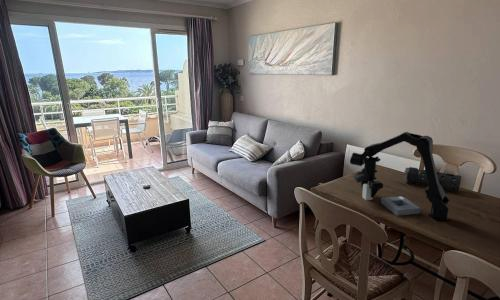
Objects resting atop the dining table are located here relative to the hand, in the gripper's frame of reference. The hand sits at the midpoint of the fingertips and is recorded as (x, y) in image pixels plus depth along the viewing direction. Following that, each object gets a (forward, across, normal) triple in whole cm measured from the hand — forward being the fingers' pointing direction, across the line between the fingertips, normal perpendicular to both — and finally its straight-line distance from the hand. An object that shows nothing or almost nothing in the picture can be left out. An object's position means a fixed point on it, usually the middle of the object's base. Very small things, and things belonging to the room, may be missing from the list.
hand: (367, 194), depth 157 cm
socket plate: (+2, +14, +10) cm, 17 cm away
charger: (+2, 0, 0) cm, 2 cm away
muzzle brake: (+3, -8, +44) cm, 45 cm away
